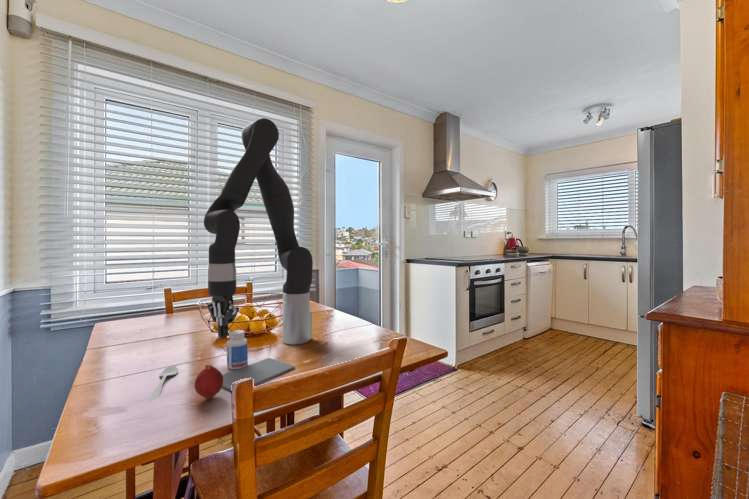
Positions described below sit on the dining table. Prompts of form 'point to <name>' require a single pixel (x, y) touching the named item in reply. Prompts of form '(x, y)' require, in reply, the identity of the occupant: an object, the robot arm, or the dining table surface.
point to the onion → (209, 382)
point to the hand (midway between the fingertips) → (223, 337)
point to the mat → (256, 372)
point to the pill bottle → (237, 350)
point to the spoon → (157, 391)
